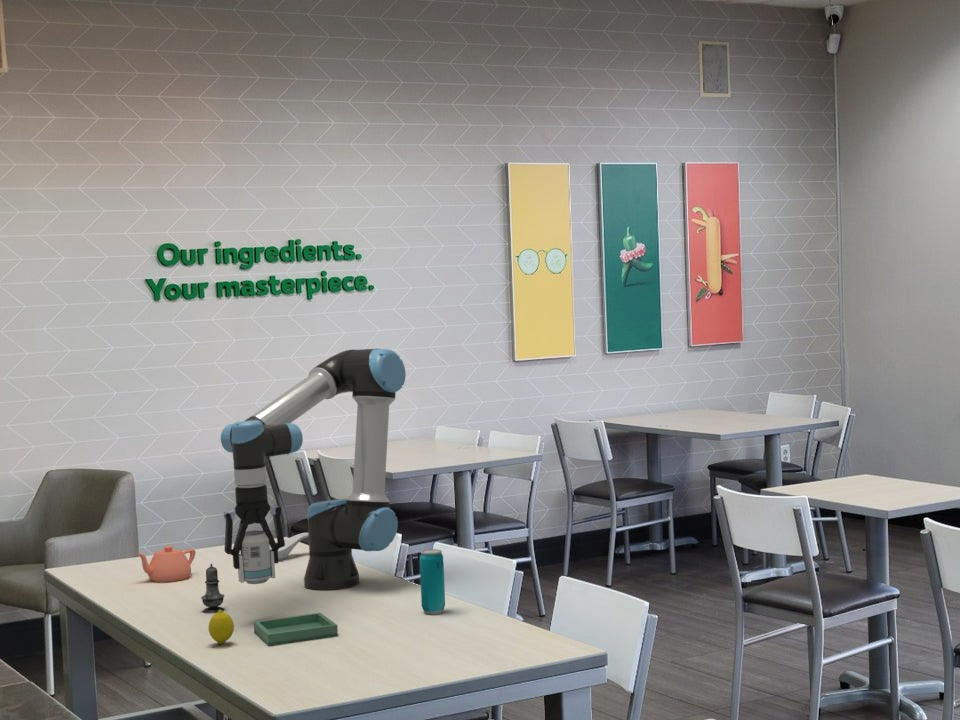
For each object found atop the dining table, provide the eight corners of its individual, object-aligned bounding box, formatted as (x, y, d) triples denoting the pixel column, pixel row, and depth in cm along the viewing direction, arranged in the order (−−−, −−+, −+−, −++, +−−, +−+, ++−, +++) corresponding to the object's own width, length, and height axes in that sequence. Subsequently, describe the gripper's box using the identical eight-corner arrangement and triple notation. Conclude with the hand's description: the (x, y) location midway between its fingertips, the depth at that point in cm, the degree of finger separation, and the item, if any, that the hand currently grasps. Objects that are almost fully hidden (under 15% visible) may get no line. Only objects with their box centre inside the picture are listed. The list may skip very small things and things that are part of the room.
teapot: (205, 577, 343) (203, 544, 343) (145, 587, 332) (144, 553, 332) (187, 571, 353) (185, 540, 353) (128, 581, 342) (127, 548, 341)
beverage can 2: (449, 610, 290) (447, 549, 290) (438, 615, 285) (436, 553, 284) (428, 608, 292) (426, 548, 292) (417, 614, 287) (415, 552, 287)
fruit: (222, 648, 262) (220, 613, 262) (204, 646, 265) (202, 610, 265) (239, 642, 267) (238, 607, 267) (221, 640, 270) (220, 605, 270)
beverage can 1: (276, 578, 289) (273, 529, 288) (262, 585, 282) (259, 535, 282) (251, 578, 291) (248, 529, 290) (237, 584, 284) (233, 535, 284)
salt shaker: (219, 613, 297) (217, 565, 296) (197, 613, 298) (195, 565, 297) (229, 607, 302) (226, 561, 302) (207, 607, 304) (205, 561, 303)
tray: (320, 622, 282) (320, 612, 282) (337, 635, 270) (337, 625, 270) (254, 632, 276) (253, 621, 276) (268, 645, 263) (267, 634, 263)
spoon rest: (260, 565, 358) (259, 542, 358) (248, 560, 368) (247, 537, 368) (333, 556, 370) (332, 533, 369) (319, 550, 380) (318, 528, 380)
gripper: (287, 478, 293) (293, 570, 294) (206, 488, 285) (212, 582, 286) (295, 482, 286) (301, 576, 287) (212, 491, 278) (219, 588, 279)
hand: (257, 579), depth 287 cm, fingers closed on beverage can 1, 7 cm apart
